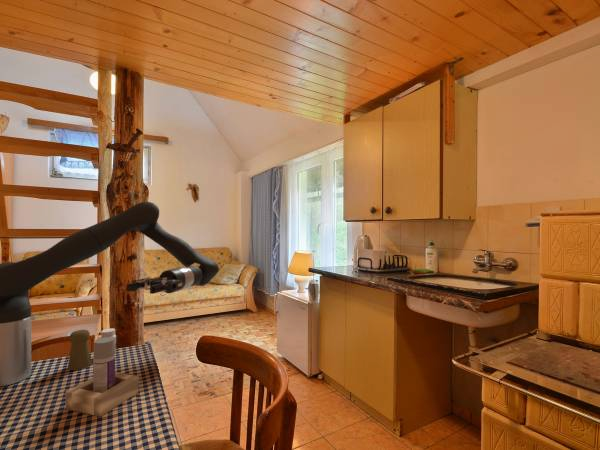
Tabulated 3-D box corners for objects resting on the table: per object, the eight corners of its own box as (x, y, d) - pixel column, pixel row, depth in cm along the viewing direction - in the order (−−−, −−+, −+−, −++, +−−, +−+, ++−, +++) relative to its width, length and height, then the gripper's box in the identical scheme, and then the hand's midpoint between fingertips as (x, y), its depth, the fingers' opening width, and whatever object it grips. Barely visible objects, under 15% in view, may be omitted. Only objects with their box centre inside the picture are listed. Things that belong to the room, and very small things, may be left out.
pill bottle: (97, 355, 103) (97, 330, 103) (113, 350, 107) (113, 326, 107) (101, 359, 100) (101, 333, 100) (117, 354, 103) (117, 330, 104)
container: (110, 392, 80) (110, 335, 80) (118, 398, 77) (118, 339, 77) (89, 400, 76) (90, 340, 76) (97, 407, 73) (98, 344, 74)
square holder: (65, 408, 73) (65, 391, 73) (106, 385, 83) (106, 370, 83) (100, 416, 70) (100, 399, 70) (138, 391, 80) (138, 376, 80)
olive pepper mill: (78, 371, 91) (79, 334, 92) (62, 369, 93) (62, 333, 93) (96, 362, 97) (96, 328, 97) (80, 361, 99) (80, 327, 99)
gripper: (159, 267, 105) (119, 274, 89) (195, 269, 101) (159, 277, 85) (159, 289, 105) (119, 300, 89) (195, 292, 101) (159, 304, 85)
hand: (138, 289), depth 87 cm, fingers open, 8 cm apart
